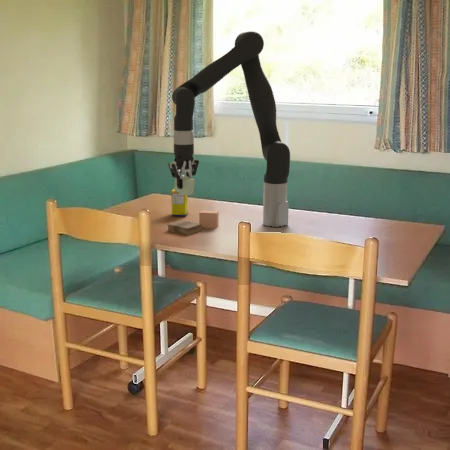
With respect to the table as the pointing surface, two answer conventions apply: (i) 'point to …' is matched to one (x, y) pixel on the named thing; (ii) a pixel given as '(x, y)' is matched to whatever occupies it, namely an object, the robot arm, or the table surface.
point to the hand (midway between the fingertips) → (184, 187)
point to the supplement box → (179, 204)
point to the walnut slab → (184, 227)
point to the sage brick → (185, 186)
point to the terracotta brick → (209, 219)
